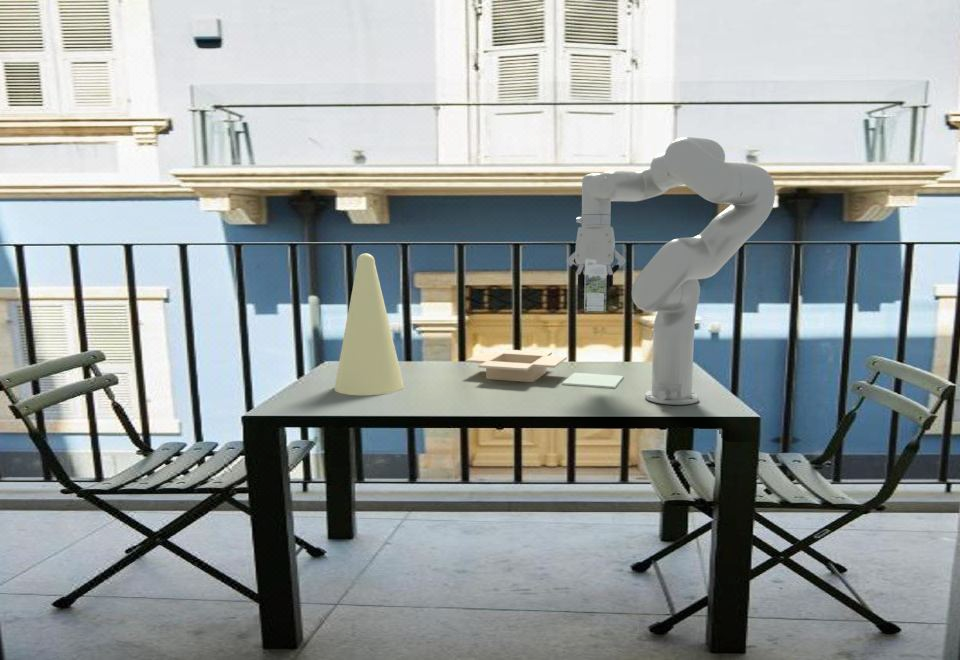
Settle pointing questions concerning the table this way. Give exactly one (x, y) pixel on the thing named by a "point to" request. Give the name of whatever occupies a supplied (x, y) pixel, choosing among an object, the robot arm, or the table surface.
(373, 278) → the cone light
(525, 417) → the table surface
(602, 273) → the syrup box
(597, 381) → the sage rubber mat
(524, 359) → the kraft carton
